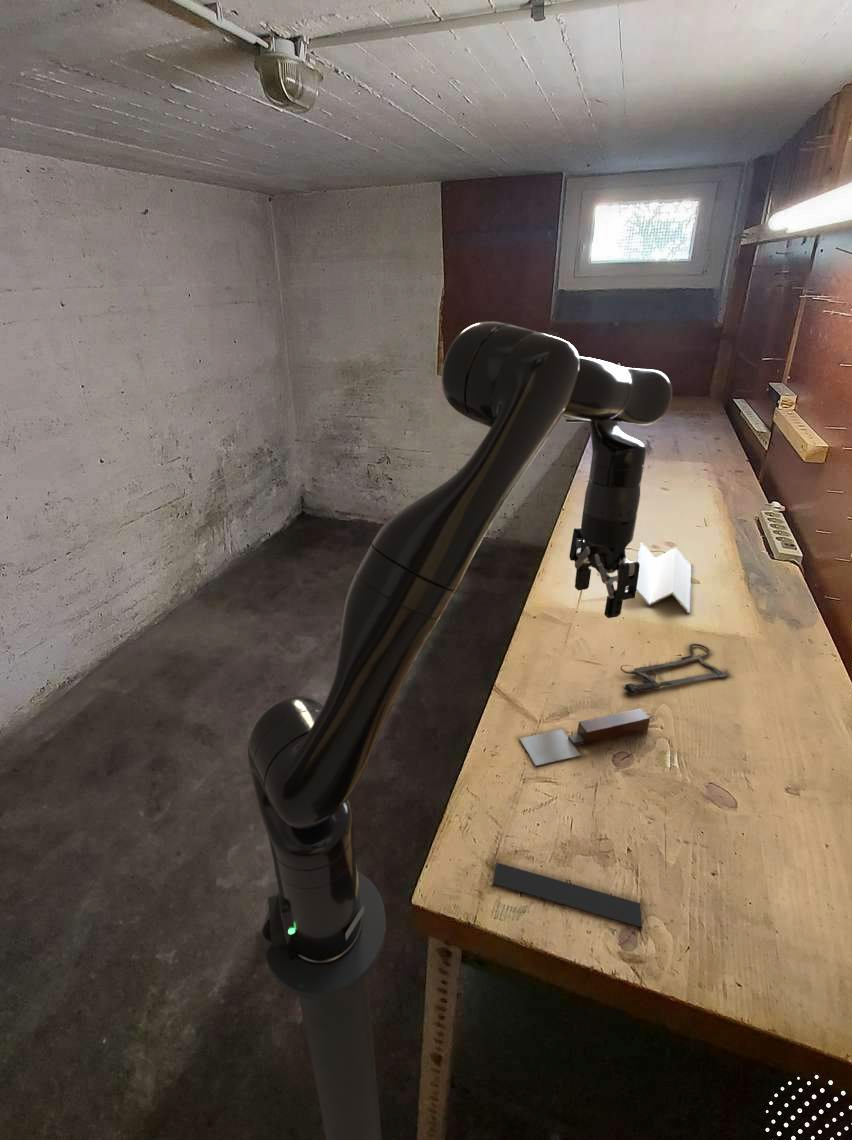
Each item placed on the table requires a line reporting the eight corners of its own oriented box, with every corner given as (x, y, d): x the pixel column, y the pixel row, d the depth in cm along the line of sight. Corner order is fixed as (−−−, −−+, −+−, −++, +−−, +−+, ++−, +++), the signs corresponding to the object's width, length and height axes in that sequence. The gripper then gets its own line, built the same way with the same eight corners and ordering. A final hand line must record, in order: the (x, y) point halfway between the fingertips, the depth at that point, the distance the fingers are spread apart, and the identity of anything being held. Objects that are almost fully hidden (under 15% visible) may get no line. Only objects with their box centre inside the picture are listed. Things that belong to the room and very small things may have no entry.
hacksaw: (627, 697, 104) (628, 690, 103) (597, 663, 113) (597, 657, 112) (738, 675, 108) (740, 668, 108) (700, 644, 117) (702, 638, 117)
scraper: (632, 714, 100) (634, 701, 98) (653, 738, 95) (657, 725, 93) (519, 739, 95) (520, 726, 94) (535, 766, 90) (537, 752, 89)
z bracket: (669, 576, 151) (690, 564, 148) (665, 624, 131) (689, 612, 128) (640, 542, 151) (661, 530, 147) (631, 585, 131) (655, 572, 127)
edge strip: (492, 884, 73) (492, 883, 73) (496, 863, 76) (496, 862, 75) (641, 928, 68) (641, 927, 68) (640, 904, 70) (640, 903, 70)
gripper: (562, 495, 88) (552, 584, 95) (616, 531, 75) (600, 630, 83) (604, 489, 89) (592, 577, 97) (664, 524, 77) (644, 622, 84)
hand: (596, 602), depth 90 cm, fingers open, 8 cm apart
